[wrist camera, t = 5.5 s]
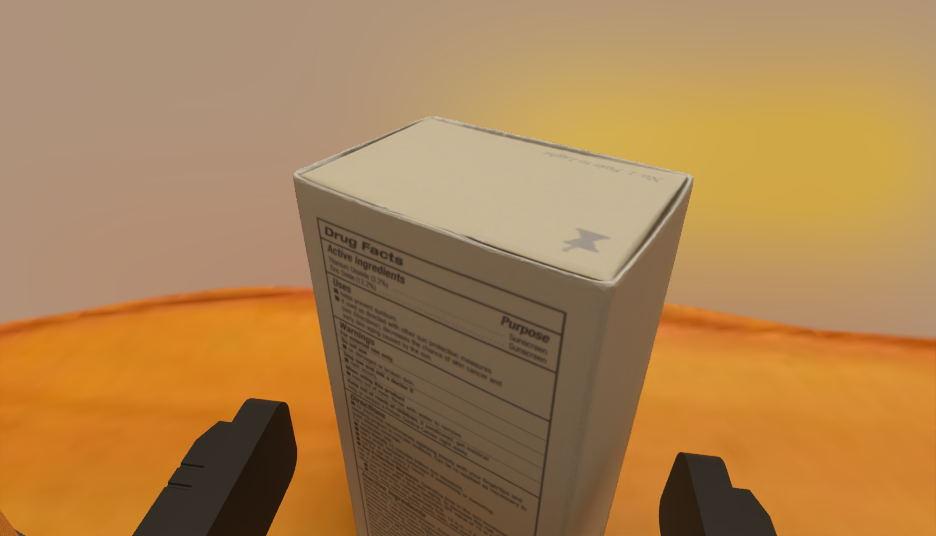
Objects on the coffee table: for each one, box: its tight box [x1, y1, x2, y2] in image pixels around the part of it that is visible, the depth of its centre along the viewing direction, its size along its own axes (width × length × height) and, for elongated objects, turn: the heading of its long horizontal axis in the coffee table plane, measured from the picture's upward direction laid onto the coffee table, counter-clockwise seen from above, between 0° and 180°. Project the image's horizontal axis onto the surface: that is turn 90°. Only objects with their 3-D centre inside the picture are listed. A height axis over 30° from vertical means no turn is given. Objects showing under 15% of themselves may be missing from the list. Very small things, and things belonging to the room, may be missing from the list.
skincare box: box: [293, 116, 693, 536], centre depth 13 cm, size 6×4×12 cm
